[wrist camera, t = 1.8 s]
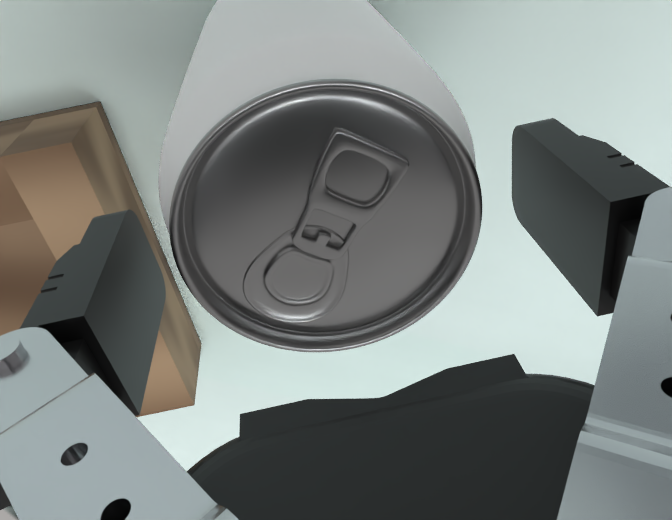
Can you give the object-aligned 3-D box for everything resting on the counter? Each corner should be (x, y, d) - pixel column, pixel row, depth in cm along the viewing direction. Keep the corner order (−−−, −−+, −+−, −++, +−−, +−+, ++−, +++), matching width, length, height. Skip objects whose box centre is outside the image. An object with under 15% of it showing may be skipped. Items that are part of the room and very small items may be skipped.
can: (174, 106, 20) (98, 318, 10) (241, -81, 17) (223, -33, 7) (332, 171, 22) (393, 398, 13) (414, 16, 19) (580, 152, 10)
